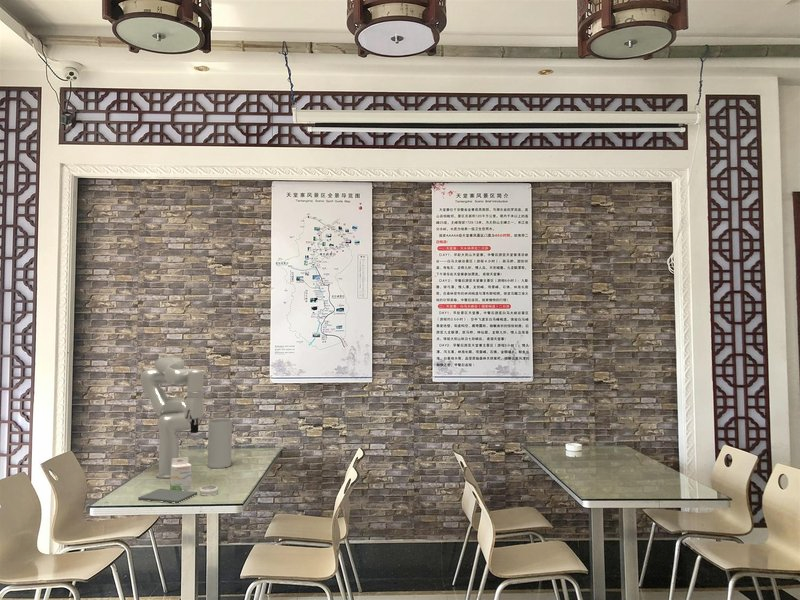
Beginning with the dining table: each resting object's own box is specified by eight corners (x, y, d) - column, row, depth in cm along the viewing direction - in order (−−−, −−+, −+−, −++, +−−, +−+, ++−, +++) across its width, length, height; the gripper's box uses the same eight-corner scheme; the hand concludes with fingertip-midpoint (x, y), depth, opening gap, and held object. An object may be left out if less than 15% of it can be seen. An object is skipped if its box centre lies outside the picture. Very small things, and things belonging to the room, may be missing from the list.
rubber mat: (159, 491, 285) (159, 488, 285) (197, 494, 280) (197, 492, 280) (138, 500, 270) (138, 497, 270) (177, 503, 265) (177, 501, 265)
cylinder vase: (234, 463, 342) (235, 419, 343) (225, 469, 329) (226, 422, 330) (213, 463, 343) (214, 418, 344) (203, 468, 331) (204, 422, 332)
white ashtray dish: (205, 490, 287) (205, 484, 287) (220, 491, 285) (221, 486, 285) (196, 495, 279) (196, 489, 279) (211, 496, 277) (211, 490, 277)
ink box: (172, 492, 283) (173, 460, 284) (169, 490, 287) (170, 458, 288) (191, 489, 288) (192, 458, 289) (188, 487, 292) (189, 456, 293)
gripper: (196, 393, 307) (196, 430, 306) (179, 396, 293) (178, 435, 292) (210, 393, 305) (209, 430, 305) (193, 397, 291) (192, 435, 290)
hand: (194, 432), depth 298 cm, fingers closed
